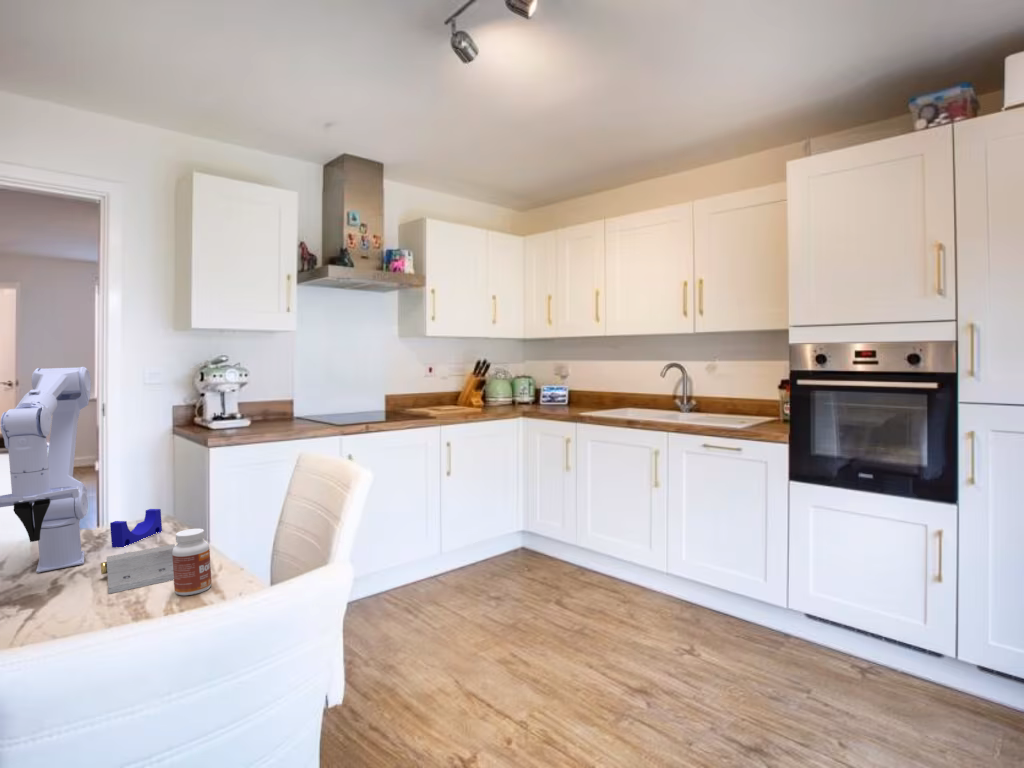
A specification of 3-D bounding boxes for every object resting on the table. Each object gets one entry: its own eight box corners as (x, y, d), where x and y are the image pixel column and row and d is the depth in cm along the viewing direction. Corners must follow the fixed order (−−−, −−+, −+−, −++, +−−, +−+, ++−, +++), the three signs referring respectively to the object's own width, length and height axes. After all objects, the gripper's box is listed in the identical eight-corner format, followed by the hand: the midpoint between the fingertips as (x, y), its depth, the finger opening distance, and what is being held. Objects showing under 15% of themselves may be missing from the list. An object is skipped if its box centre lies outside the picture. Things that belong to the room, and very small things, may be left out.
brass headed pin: (101, 576, 116) (100, 564, 116) (101, 572, 118) (100, 561, 117) (176, 560, 123) (176, 550, 123) (175, 557, 125) (174, 547, 125)
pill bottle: (206, 594, 108) (203, 535, 107) (169, 598, 106) (165, 538, 106) (215, 581, 114) (212, 525, 113) (180, 585, 112) (177, 528, 112)
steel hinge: (108, 593, 109) (107, 573, 109) (107, 564, 125) (105, 546, 125) (181, 577, 116) (180, 558, 116) (171, 552, 132) (170, 535, 132)
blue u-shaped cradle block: (146, 531, 149) (145, 508, 149) (162, 532, 148) (160, 509, 148) (106, 547, 137) (104, 522, 137) (123, 548, 136) (121, 523, 136)
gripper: (-25, 479, 105) (-19, 553, 105) (76, 468, 113) (81, 537, 114) (-19, 473, 110) (-13, 544, 111) (77, 463, 119) (81, 528, 119)
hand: (35, 540), depth 113 cm, fingers closed
